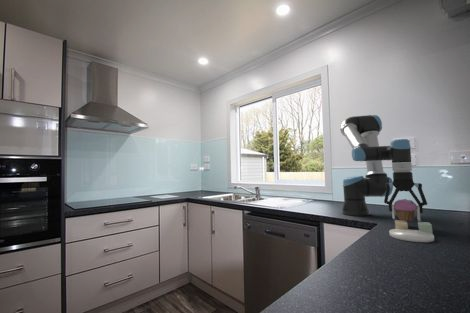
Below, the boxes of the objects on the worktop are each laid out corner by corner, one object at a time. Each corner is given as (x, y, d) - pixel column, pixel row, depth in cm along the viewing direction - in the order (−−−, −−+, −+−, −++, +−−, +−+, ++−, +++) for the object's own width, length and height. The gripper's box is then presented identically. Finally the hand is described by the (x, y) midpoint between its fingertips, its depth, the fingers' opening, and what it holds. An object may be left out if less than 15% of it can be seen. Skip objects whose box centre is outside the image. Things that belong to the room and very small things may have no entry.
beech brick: (395, 229, 102) (394, 220, 102) (406, 229, 100) (405, 220, 100) (396, 232, 97) (396, 222, 97) (408, 233, 95) (407, 223, 95)
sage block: (418, 230, 98) (417, 221, 98) (430, 232, 95) (429, 222, 96) (420, 234, 93) (419, 224, 93) (432, 235, 90) (431, 225, 91)
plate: (388, 231, 98) (388, 227, 98) (430, 234, 91) (429, 230, 91) (390, 239, 86) (390, 235, 86) (438, 244, 79) (438, 239, 79)
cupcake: (422, 221, 103) (420, 199, 104) (409, 223, 100) (407, 200, 101) (402, 217, 112) (401, 197, 112) (390, 219, 109) (388, 198, 109)
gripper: (375, 172, 110) (379, 219, 108) (433, 171, 98) (438, 223, 97) (375, 171, 116) (378, 215, 115) (429, 170, 105) (434, 219, 104)
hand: (405, 219), depth 106 cm, fingers closed on cupcake, 9 cm apart
